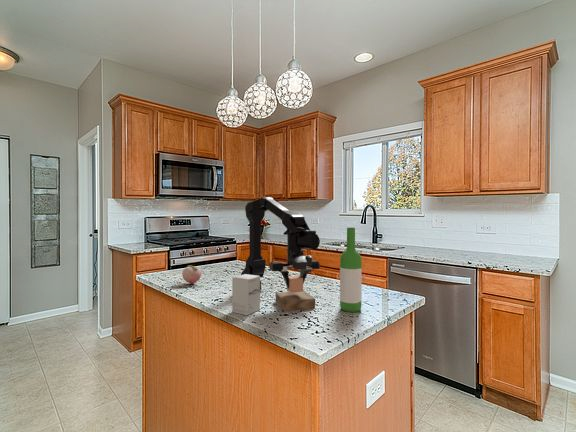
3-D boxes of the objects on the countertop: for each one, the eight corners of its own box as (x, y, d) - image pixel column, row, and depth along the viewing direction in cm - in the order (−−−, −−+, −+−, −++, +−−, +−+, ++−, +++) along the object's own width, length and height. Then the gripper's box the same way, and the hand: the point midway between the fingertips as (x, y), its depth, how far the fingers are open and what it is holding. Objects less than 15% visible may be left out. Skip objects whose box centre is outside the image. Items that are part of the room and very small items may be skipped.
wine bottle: (365, 309, 118) (365, 227, 117) (354, 314, 112) (354, 228, 111) (347, 304, 123) (347, 226, 122) (335, 309, 117) (336, 227, 116)
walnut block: (284, 312, 115) (284, 301, 115) (275, 302, 127) (275, 292, 127) (315, 309, 119) (315, 298, 119) (304, 300, 130) (304, 290, 130)
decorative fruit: (178, 284, 155) (178, 264, 155) (191, 281, 162) (191, 262, 162) (191, 287, 150) (191, 266, 150) (204, 284, 157) (204, 263, 157)
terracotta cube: (290, 292, 120) (290, 279, 119) (286, 289, 124) (286, 276, 124) (303, 291, 121) (303, 278, 121) (298, 288, 126) (298, 275, 126)
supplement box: (247, 315, 110) (247, 279, 110) (231, 312, 114) (231, 276, 114) (260, 310, 116) (260, 275, 116) (244, 306, 120) (244, 273, 120)
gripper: (276, 250, 112) (276, 295, 112) (325, 248, 117) (325, 291, 118) (269, 247, 123) (269, 287, 123) (314, 245, 128) (314, 284, 128)
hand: (294, 287), depth 123 cm, fingers closed on terracotta cube, 5 cm apart
